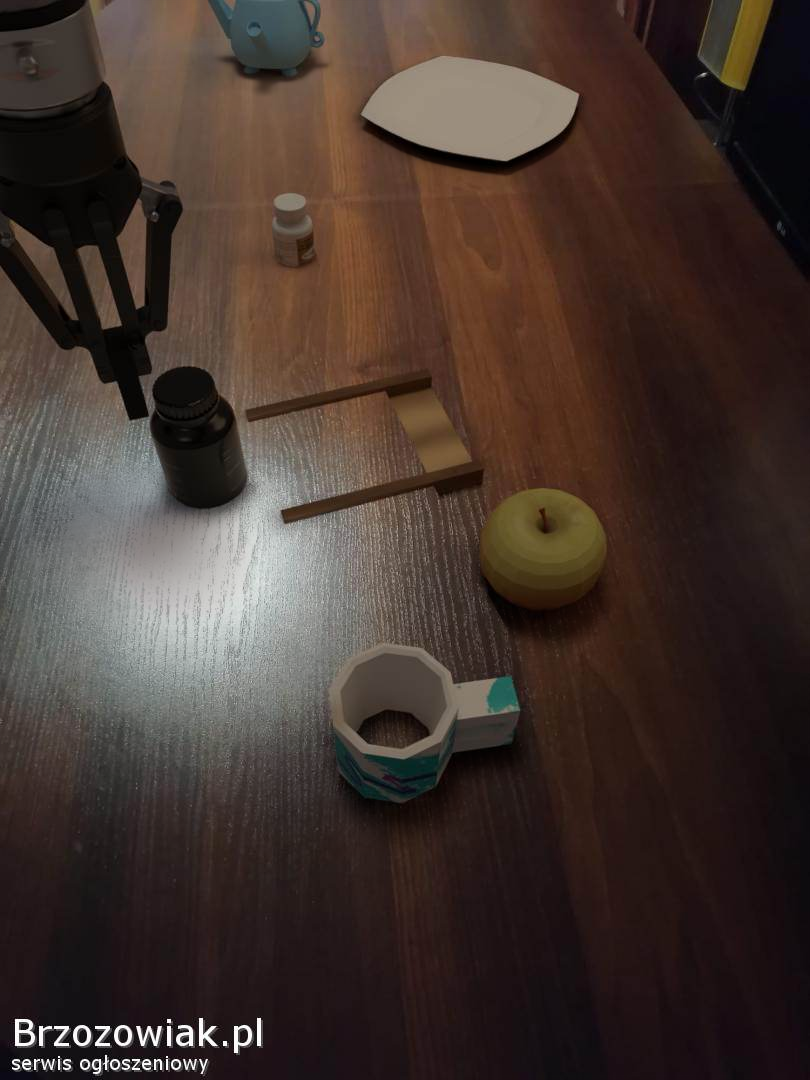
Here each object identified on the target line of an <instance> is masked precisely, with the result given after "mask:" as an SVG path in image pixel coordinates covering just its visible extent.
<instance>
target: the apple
mask: <svg viewBox="0 0 810 1080" xmlns="http://www.w3.org/2000/svg"><path fill="white" fill-rule="evenodd" d="M607 550H608V549H607V533H606V532H605V530H604V527H603V525H602V523H601V522H600V520H599V518H598V516H597V514H596V512H595V511H594V510H593V509H592V508H591V506H588V505H587V504H586V503H585V502H584V501H583V500H582V499H581V498H579V497H578V496H575V495H573V494H571V493H568V492H567V491H566V492H565V491H563V490H561V489H555V488H554V489H553V488H547V487H540V488H539V487H538V488H532V489H526V490H522V491H519V492H517V493H515V494H513V495H511V496H509V497H507V498H504V499H503V501H502V502H500V503H499V504H498V505H497V506H496V507H495V509H493V510H492V512H491V513H490V514H489V515H488V516H487V517H486V518H485V521H484V524H483V526H482V530H481V533H480V536H479V541H478V557H479V564H480V571H481V573H482V574H483V575H484V577H485V579H486V580H487V581H488V583H489V585H490V586H491V588H492V589H493V590H494V591H495V592H496V594H498V595H499V596H500V597H502V598H503V599H504V600H506V601H508V602H509V603H510V604H512V605H515V606H518V607H521V608H524V609H528V610H531V611H555V610H556V609H560V608H563V607H565V606H569V605H571V604H573V603H575V602H577V601H579V600H580V599H581V598H582V597H583V596H585V595H586V594H587V593H589V592H590V591H592V589H593V588H594V587H595V585H596V583H597V581H598V579H599V577H600V575H601V572H602V570H603V568H604V566H605V564H606V559H607V554H608V551H607Z"/></svg>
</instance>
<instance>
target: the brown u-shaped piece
mask: <svg viewBox="0 0 810 1080" xmlns="http://www.w3.org/2000/svg"><path fill="white" fill-rule="evenodd" d="M432 381H433V376H432V373H431V372H430V370H429V368H425V369H419V370H416V371H411V372H405V373H403V374H398V375H394V376H389V377H385V378H384V377H383V378H379V379H376V380H370V381H366V382H363V383H357V384H354V385H353V384H352V385H349V386H345V387H340V388H336V389H331V390H327V391H322V392H318V393H313V394H309V395H304V396H299V397H296V398H291V399H288V400H282V401H277V402H274V403H269V404H265V405H264V404H263V405H261V406H256V407H250V408H247V409H244V413H245V416H246V419H247V421H248V422H249V423H250V422H253V421H258V420H263V419H266V418H270V417H275V416H280V415H283V414H288V413H294V412H298V411H302V410H307V409H310V408H314V407H319V406H323V405H327V404H328V405H329V404H332V403H337V402H340V401H341V402H342V401H345V400H349V399H354V398H359V397H363V396H367V395H371V394H376V393H380V392H385V394H386V395H387V398H388V399H389V401H390V404H391V405H392V407H393V409H394V411H395V413H396V415H397V417H398V419H399V421H400V423H401V425H402V427H403V428H404V431H405V433H406V434H407V437H408V439H409V440H410V443H411V444H412V446H413V449H414V451H415V452H416V455H417V456H418V459H419V461H420V462H421V464H422V465H423V468H424V470H425V472H426V473H421V474H417V475H413V476H409V477H406V478H401V479H398V480H393V481H390V482H386V483H381V484H378V485H374V486H369V487H365V488H363V489H357V490H354V491H350V492H347V493H342V494H339V495H335V496H331V497H326V498H323V499H319V500H315V501H310V502H306V503H303V504H299V505H296V506H292V507H288V508H283V509H280V516H281V518H282V521H283V524H289V523H292V522H297V521H301V520H304V519H308V518H312V517H316V516H320V515H324V514H327V513H328V514H329V513H331V512H336V511H339V510H343V509H347V508H350V507H355V506H359V505H363V504H367V503H370V502H375V501H379V500H383V499H385V498H386V499H387V498H390V497H393V496H397V495H401V494H406V493H410V492H413V491H416V490H417V491H418V490H421V489H424V488H428V487H432V486H433V488H434V490H435V491H436V494H437V495H440V494H443V493H448V492H451V491H454V490H460V489H463V488H467V487H470V486H474V485H478V484H482V483H484V474H485V473H484V472H485V468H484V465H483V464H482V462H481V461H480V459H475V460H473V459H472V458H471V455H470V454H469V452H468V450H467V449H466V447H465V445H464V443H463V441H462V440H461V437H460V436H459V434H458V433H457V430H456V429H455V427H454V426H453V424H452V422H451V420H450V418H449V416H448V414H447V413H446V410H445V409H444V407H443V406H442V404H441V402H440V400H439V398H438V396H437V394H436V393H435V391H434V389H433V388H432V385H433V384H432V383H433V382H432Z"/></svg>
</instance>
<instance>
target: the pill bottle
mask: <svg viewBox="0 0 810 1080" xmlns="http://www.w3.org/2000/svg"><path fill="white" fill-rule="evenodd" d="M273 212H274V216H275V217H274V218H273V220H272V221H271V232H272V240H273V249H274V258H275V260H276V261H277V262H278V263H279V264H281V265H283V266H285V267H286V266H287V267H294V268H295V267H296V268H297V267H301V266H302V267H303V266H306V265H308V264H309V263H311V262H312V261H313V260H314V258H315V254H316V252H315V251H316V250H315V239H314V238H315V237H314V225H313V220H312V218H311V217H310V216H309V215H308V206H307V199H306V198H305V197H304V196H303V195H301V194H299V193H296V192H288V193H283V194H282V193H281V194H279V195H278V196H277V197H276V196H275V199H273Z"/></svg>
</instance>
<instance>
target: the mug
mask: <svg viewBox="0 0 810 1080" xmlns="http://www.w3.org/2000/svg"><path fill="white" fill-rule="evenodd" d="M515 689H516V688H515V685H514V681H513V678H512V676H511V675H510V676H509V675H508V676H501V677H496V678H488V679H480V680H473V681H466V682H459V683H454V680H453V676H452V673H451V671H450V670H449V669H447V667H446V666H444V665H443V664H442V663H440V661H438V660H437V659H436V658H434V657H433V656H432V655H431V654H430V653H429V652H427V651H426V650H425V649H424V648H423V647H418V646H411V645H404V644H397V643H389V642H382V643H379V644H377V645H375V646H372V647H370V648H368V649H366V650H363V651H361V652H358V653H356V654H354V655H352V656H349V657H348V658H347V659H346V661H345V663H344V664H343V665H342V668H341V669H340V671H338V674H337V675H336V676H335V679H334V680H333V681H332V684H331V685H330V686H329V688H328V694H329V702H330V712H331V723H332V731H333V740H334V741H333V742H334V749H335V756H336V757H335V758H336V764H337V765H336V766H337V772H338V773H339V774H340V775H341V776H342V777H343V778H344V779H345V780H346V781H347V782H348V783H349V784H350V785H351V786H352V787H353V788H354V789H355V790H356V791H357V792H358V793H359V794H361V796H362V797H363V798H366V799H372V800H378V801H386V802H391V803H398V804H403V803H405V802H408V801H409V800H412V799H414V798H417V797H418V796H420V795H421V794H424V793H426V792H428V791H429V790H432V789H434V788H436V787H437V785H438V783H439V782H440V779H441V777H442V775H443V773H444V772H445V770H446V767H447V765H448V763H449V761H450V760H451V757H452V755H453V753H460V752H467V751H473V750H479V749H487V748H493V747H500V746H507V745H512V744H513V741H514V740H513V739H514V737H515V733H516V729H517V725H518V721H519V717H520V714H521V708H520V704H519V700H518V697H517V693H516V690H515ZM386 710H390V711H396V712H401V713H402V712H403V713H408V714H409V713H410V714H411V715H412V716H413V717H414V718H416V719H417V720H418V721H419V722H420V723H421V724H423V726H424V727H426V728H427V729H428V733H429V736H427V737H424V738H422V739H420V740H419V741H416V742H413V743H412V744H411V745H408V746H406V747H403V748H397V747H391V746H383V745H377V744H370V743H368V742H367V741H365V740H364V739H363V738H362V737H361V736H360V735H359V734H358V731H359V730H360V728H361V726H362V724H363V723H364V722H365V721H364V720H366V719H369V718H370V717H373V716H376V715H377V714H379V713H382V712H383V711H386Z"/></svg>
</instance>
